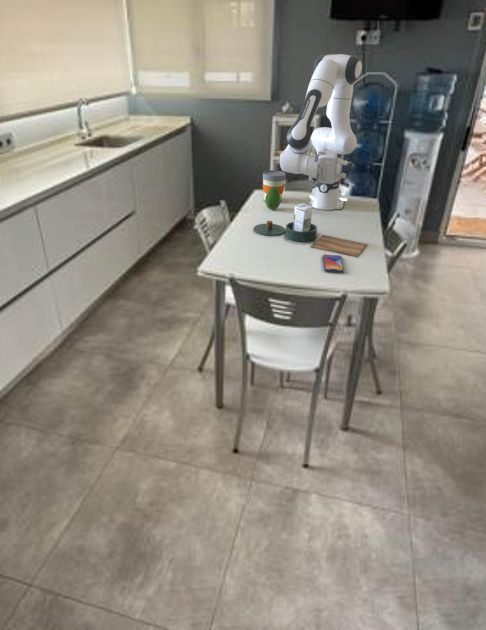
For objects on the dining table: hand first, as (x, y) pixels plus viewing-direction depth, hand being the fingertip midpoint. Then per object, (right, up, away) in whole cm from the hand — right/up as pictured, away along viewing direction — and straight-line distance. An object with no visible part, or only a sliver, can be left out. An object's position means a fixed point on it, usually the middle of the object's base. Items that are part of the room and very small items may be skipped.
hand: (346, 169), depth 195 cm
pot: (-19, -28, +7) cm, 35 cm away
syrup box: (-19, -28, +7) cm, 35 cm away
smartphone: (-10, -43, -16) cm, 47 cm away
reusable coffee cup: (-27, 0, +54) cm, 60 cm away
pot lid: (-33, -24, +13) cm, 42 cm away
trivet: (-3, -33, 0) cm, 33 cm away
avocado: (-28, -8, +41) cm, 51 cm away
